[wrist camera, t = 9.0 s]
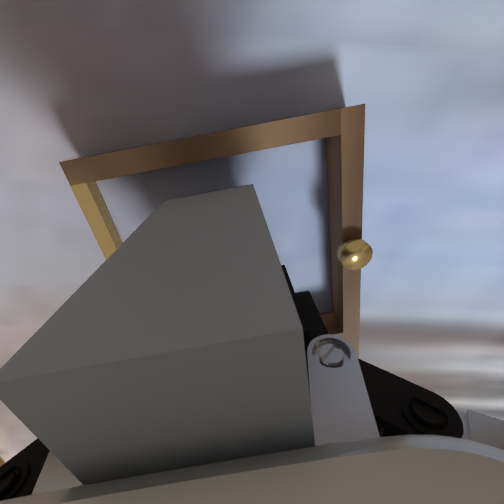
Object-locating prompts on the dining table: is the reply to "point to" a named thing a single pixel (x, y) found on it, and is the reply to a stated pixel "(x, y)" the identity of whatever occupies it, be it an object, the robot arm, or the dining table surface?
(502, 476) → the robot arm
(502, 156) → the dining table surface
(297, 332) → the pale gray rectangular prism
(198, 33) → the dining table surface
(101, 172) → the frame
